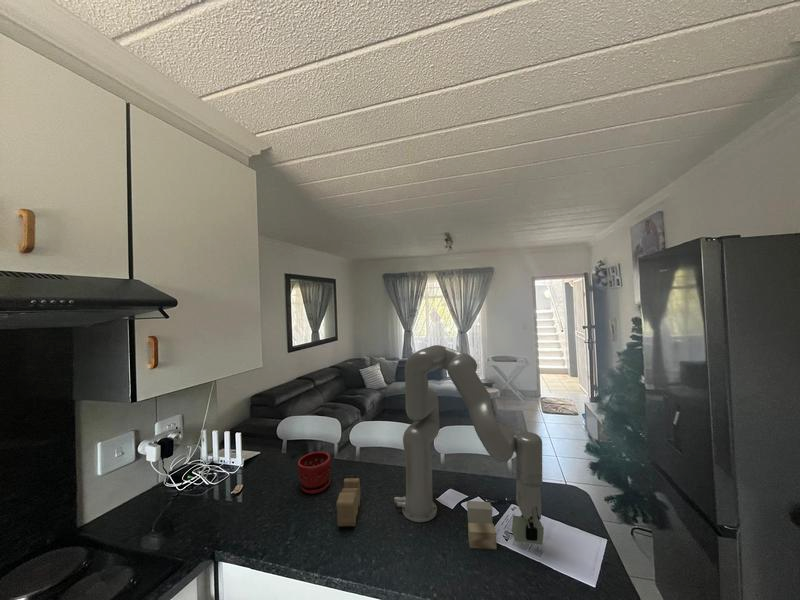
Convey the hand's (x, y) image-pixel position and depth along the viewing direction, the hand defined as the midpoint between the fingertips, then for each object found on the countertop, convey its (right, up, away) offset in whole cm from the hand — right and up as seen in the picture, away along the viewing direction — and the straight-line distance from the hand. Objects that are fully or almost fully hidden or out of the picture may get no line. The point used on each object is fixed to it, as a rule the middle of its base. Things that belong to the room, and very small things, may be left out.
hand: (529, 533), depth 95 cm
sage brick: (-1, -1, 0) cm, 2 cm away
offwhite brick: (-12, -4, +12) cm, 18 cm away
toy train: (-58, -5, +15) cm, 60 cm away
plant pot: (-76, -6, +33) cm, 83 cm away
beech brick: (-14, -4, +1) cm, 15 cm away
